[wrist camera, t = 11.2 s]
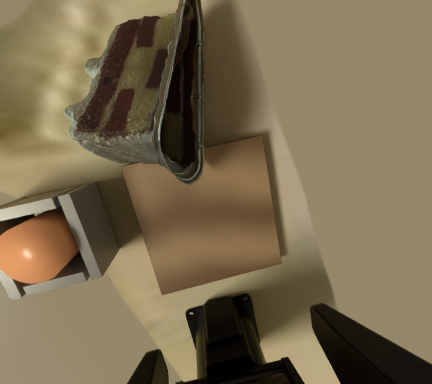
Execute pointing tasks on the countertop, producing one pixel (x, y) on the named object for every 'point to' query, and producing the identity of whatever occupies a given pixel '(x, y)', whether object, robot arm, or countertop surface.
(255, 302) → the countertop surface
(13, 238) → the brown egg
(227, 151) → the serving board
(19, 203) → the housing
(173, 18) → the chocolate cake
